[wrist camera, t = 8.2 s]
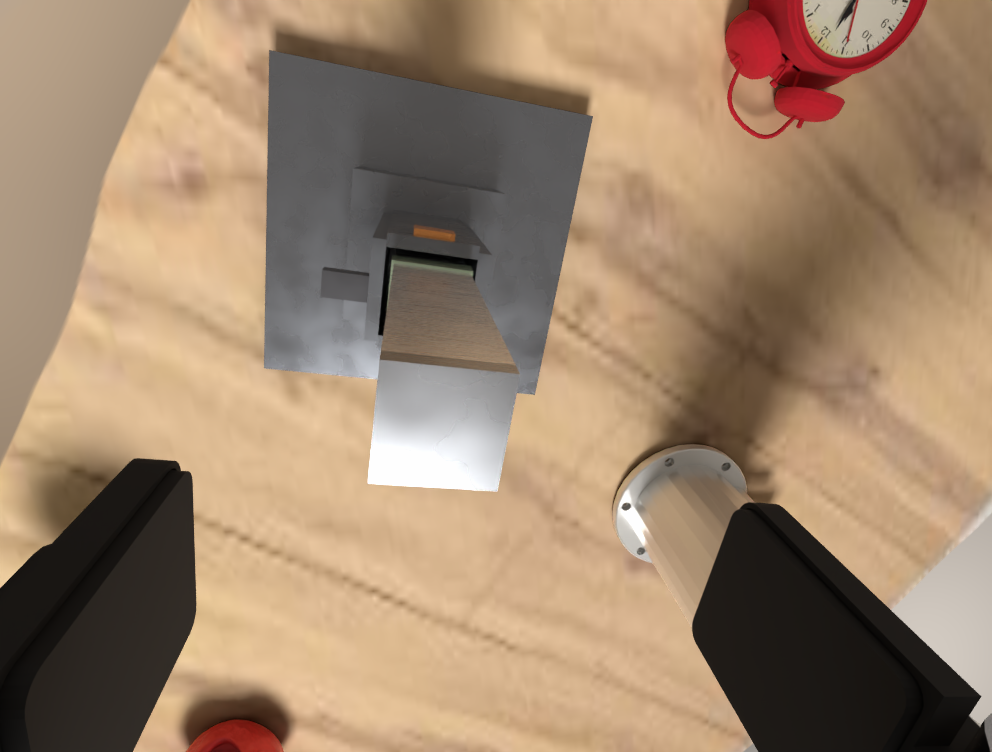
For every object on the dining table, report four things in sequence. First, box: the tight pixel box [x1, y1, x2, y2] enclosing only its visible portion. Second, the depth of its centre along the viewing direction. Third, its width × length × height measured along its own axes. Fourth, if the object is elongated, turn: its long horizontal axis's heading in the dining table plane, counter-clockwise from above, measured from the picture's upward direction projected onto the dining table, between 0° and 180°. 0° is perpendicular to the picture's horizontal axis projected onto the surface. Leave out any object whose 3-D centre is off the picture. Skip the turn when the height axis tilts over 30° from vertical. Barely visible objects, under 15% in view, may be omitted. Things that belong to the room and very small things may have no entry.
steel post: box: [368, 248, 520, 491], centre depth 20 cm, size 3×3×17 cm
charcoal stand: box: [264, 50, 593, 395], centre depth 32 cm, size 20×20×16 cm
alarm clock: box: [725, 0, 927, 139], centre depth 35 cm, size 10×6×15 cm
